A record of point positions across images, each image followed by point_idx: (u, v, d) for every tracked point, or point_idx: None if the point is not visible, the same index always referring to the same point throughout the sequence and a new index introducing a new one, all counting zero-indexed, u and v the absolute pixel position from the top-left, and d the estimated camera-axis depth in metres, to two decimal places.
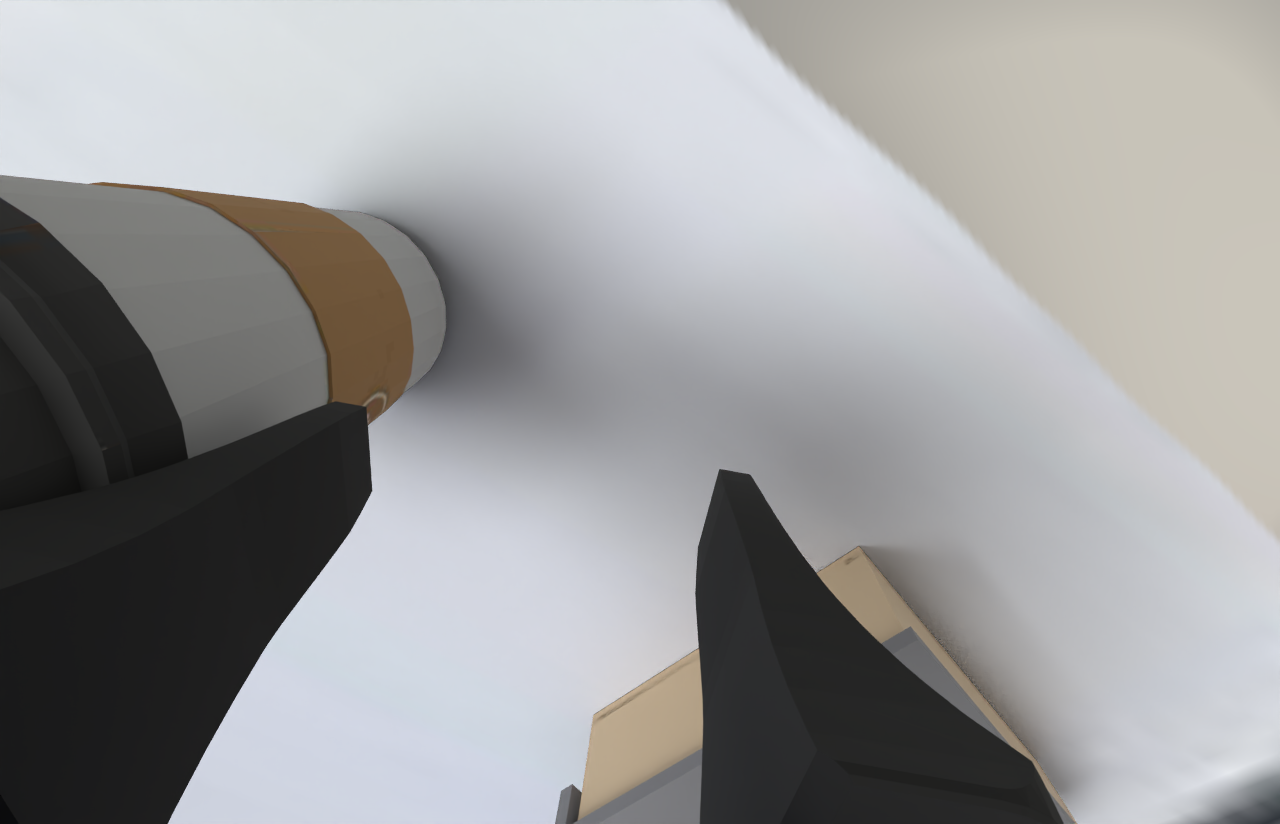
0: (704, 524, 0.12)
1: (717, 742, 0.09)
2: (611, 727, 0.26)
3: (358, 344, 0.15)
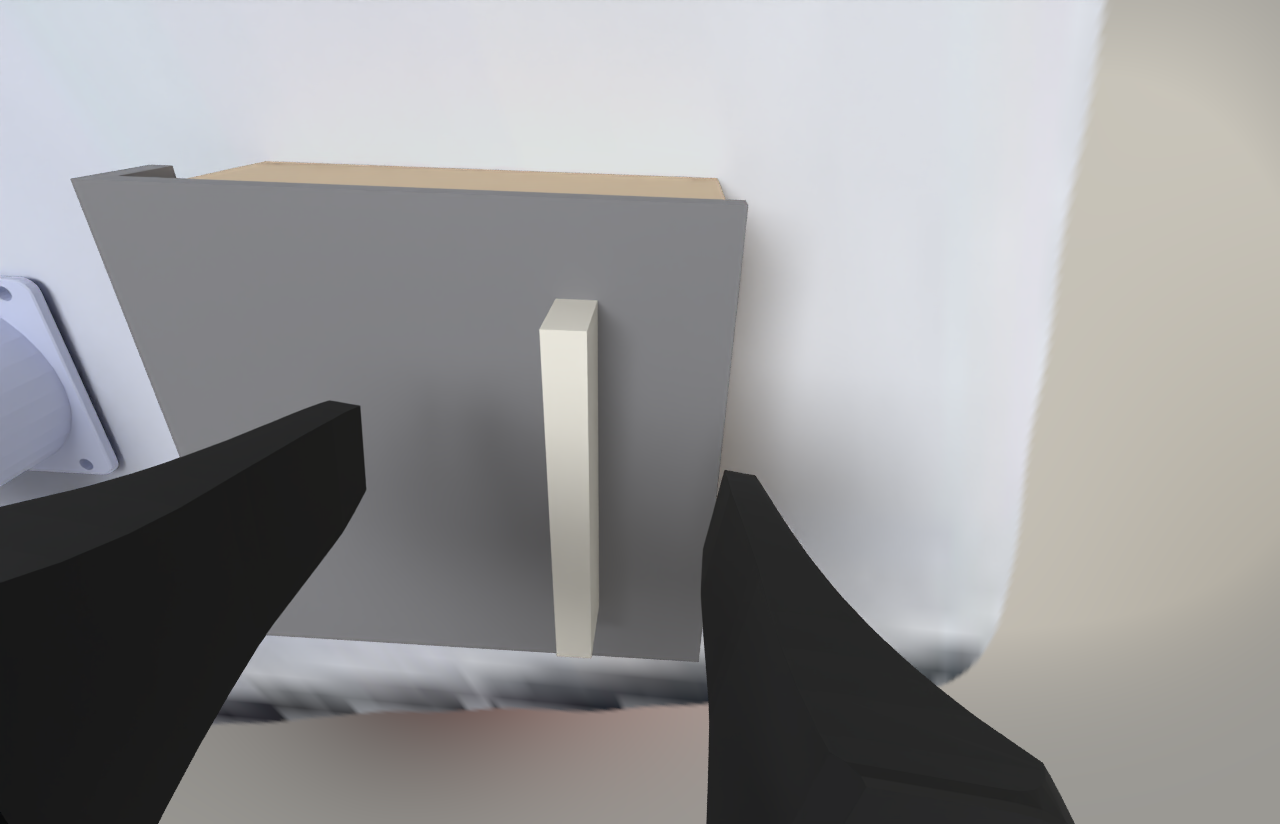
0: (709, 525, 0.12)
1: (724, 743, 0.09)
2: (279, 169, 0.18)
3: None
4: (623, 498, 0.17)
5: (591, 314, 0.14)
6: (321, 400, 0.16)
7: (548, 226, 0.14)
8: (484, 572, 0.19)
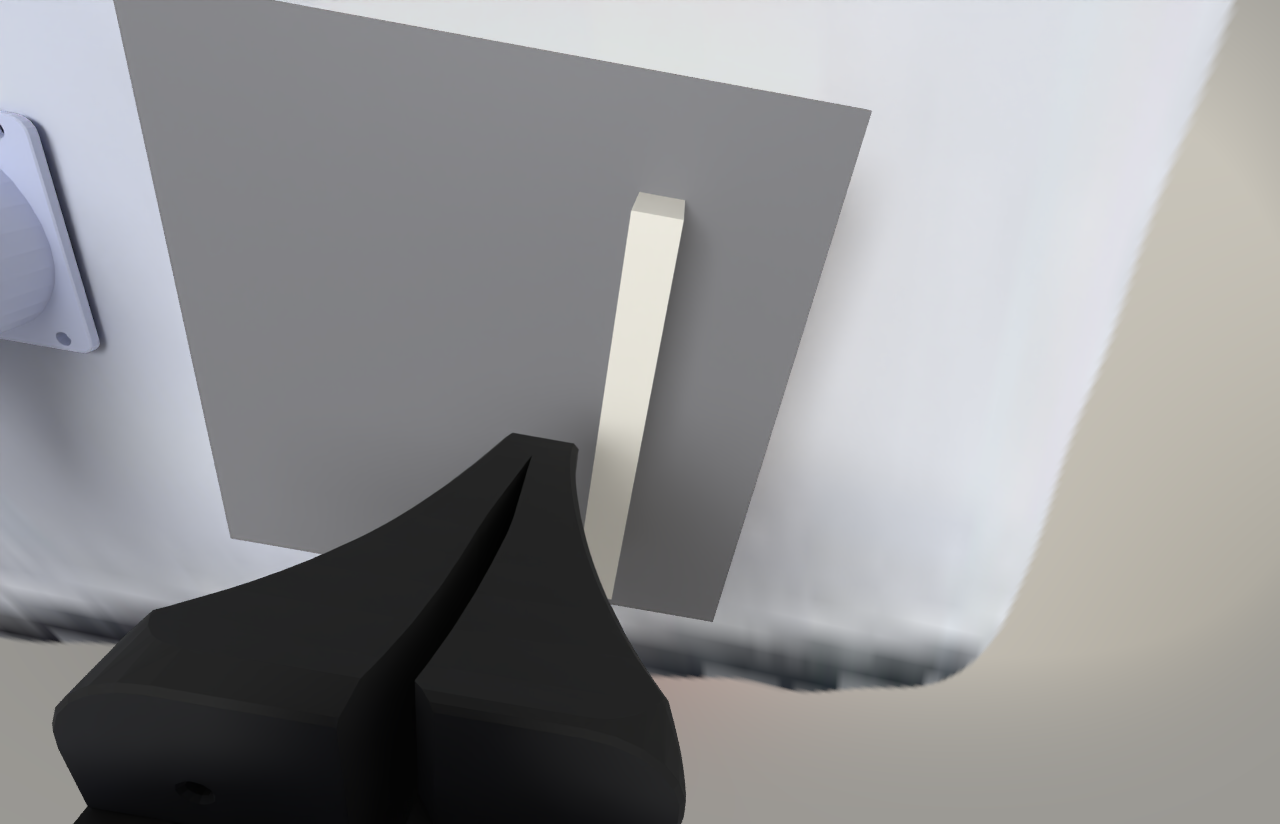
0: None
1: None
2: None
3: None
4: (669, 431, 0.16)
5: (683, 209, 0.12)
6: (356, 278, 0.15)
7: (647, 105, 0.12)
8: None
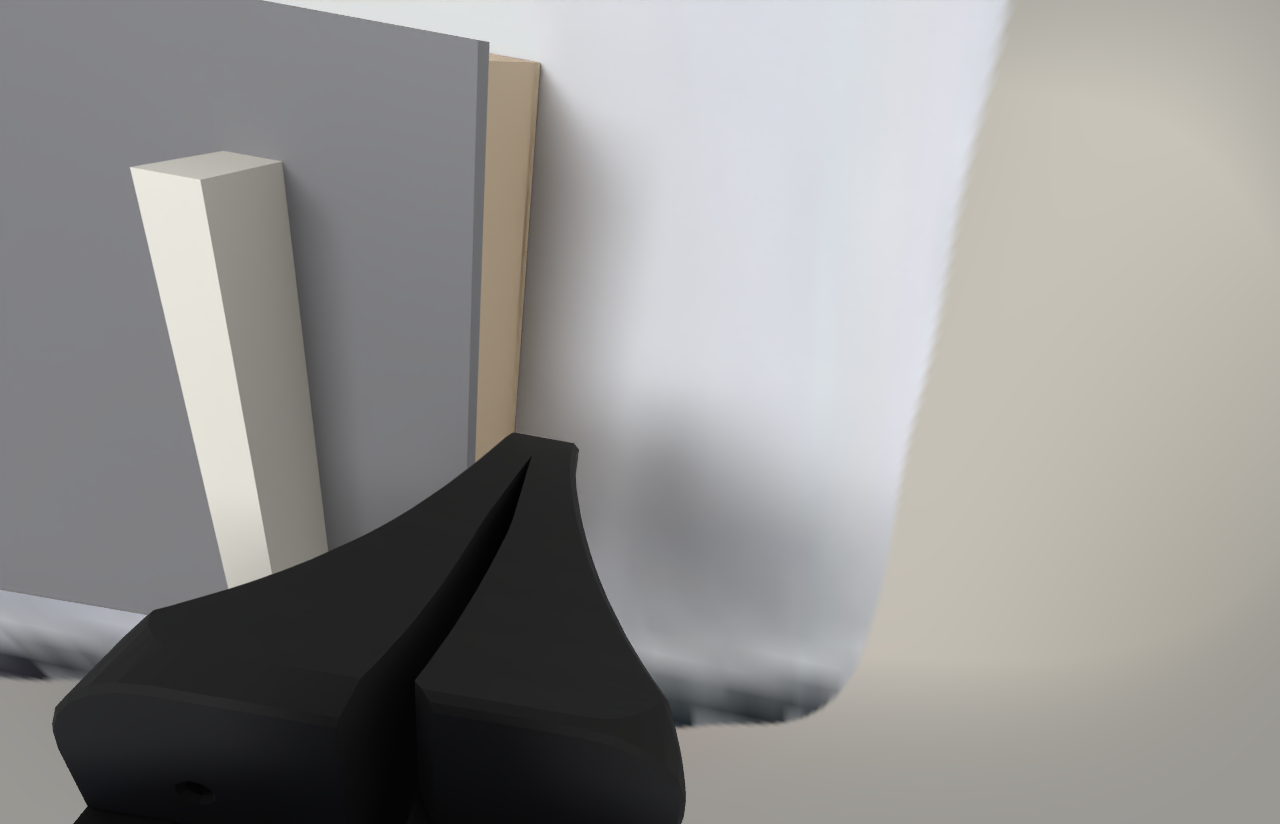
0: None
1: None
2: None
3: None
4: (347, 449, 0.13)
5: (244, 169, 0.10)
6: None
7: (199, 35, 0.10)
8: (181, 526, 0.15)
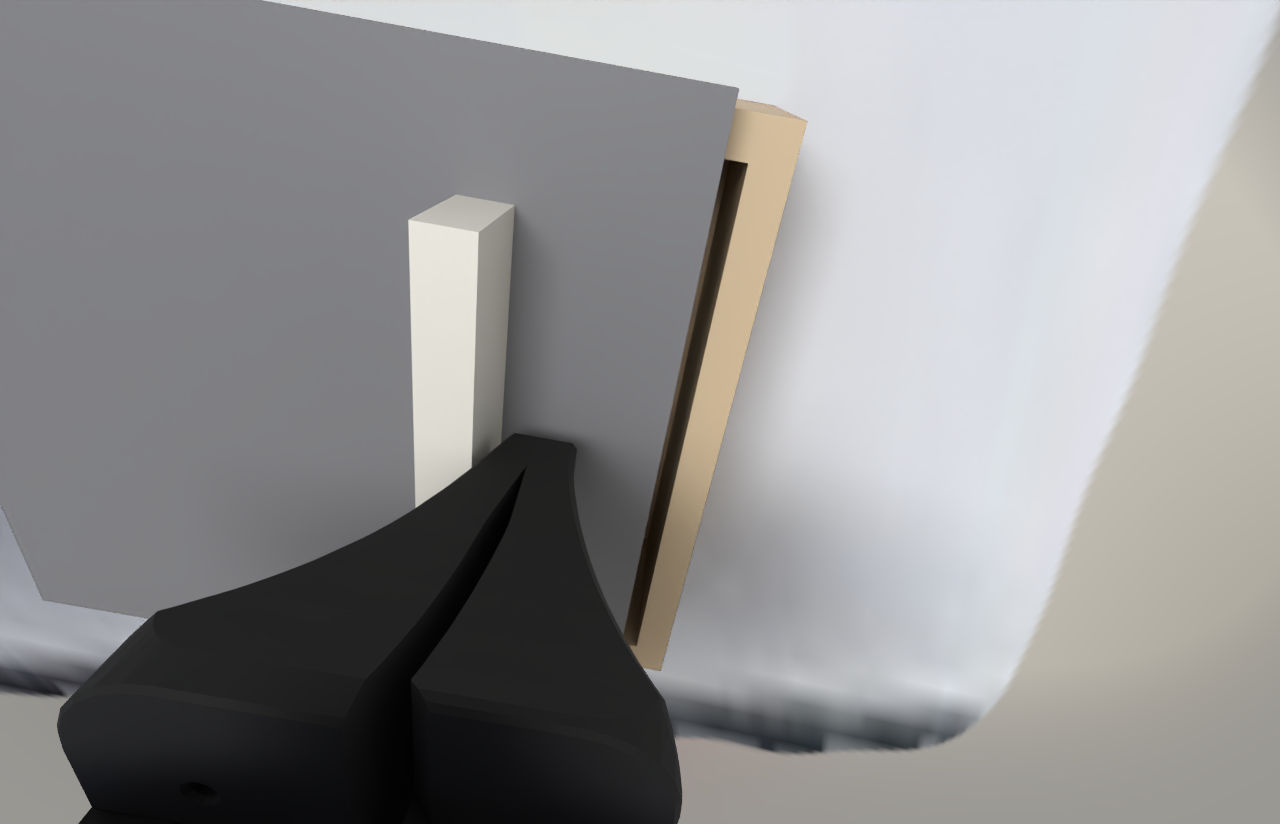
0: None
1: None
2: None
3: None
4: None
5: (497, 216, 0.10)
6: (128, 301, 0.12)
7: (451, 82, 0.10)
8: None
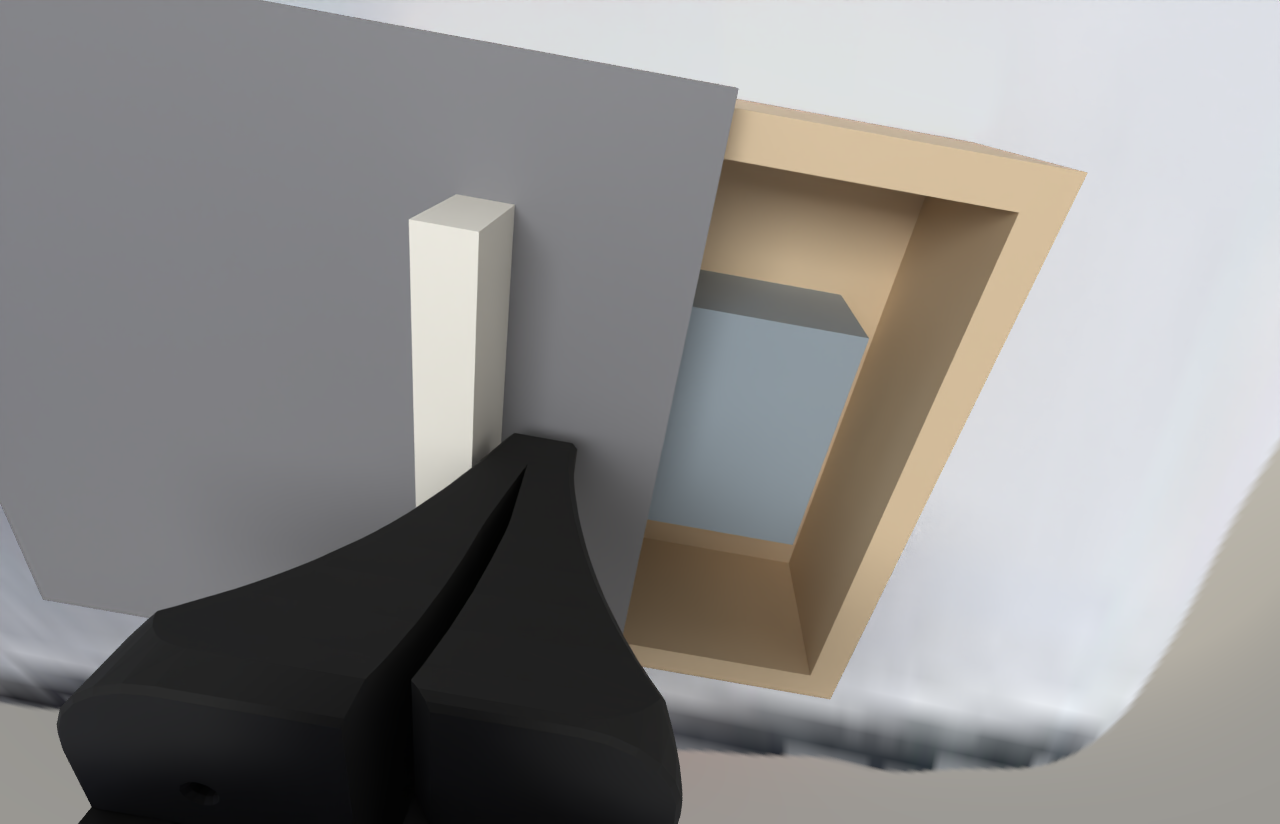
0: None
1: None
2: None
3: None
4: None
5: (497, 216, 0.10)
6: (128, 300, 0.12)
7: (451, 82, 0.10)
8: None
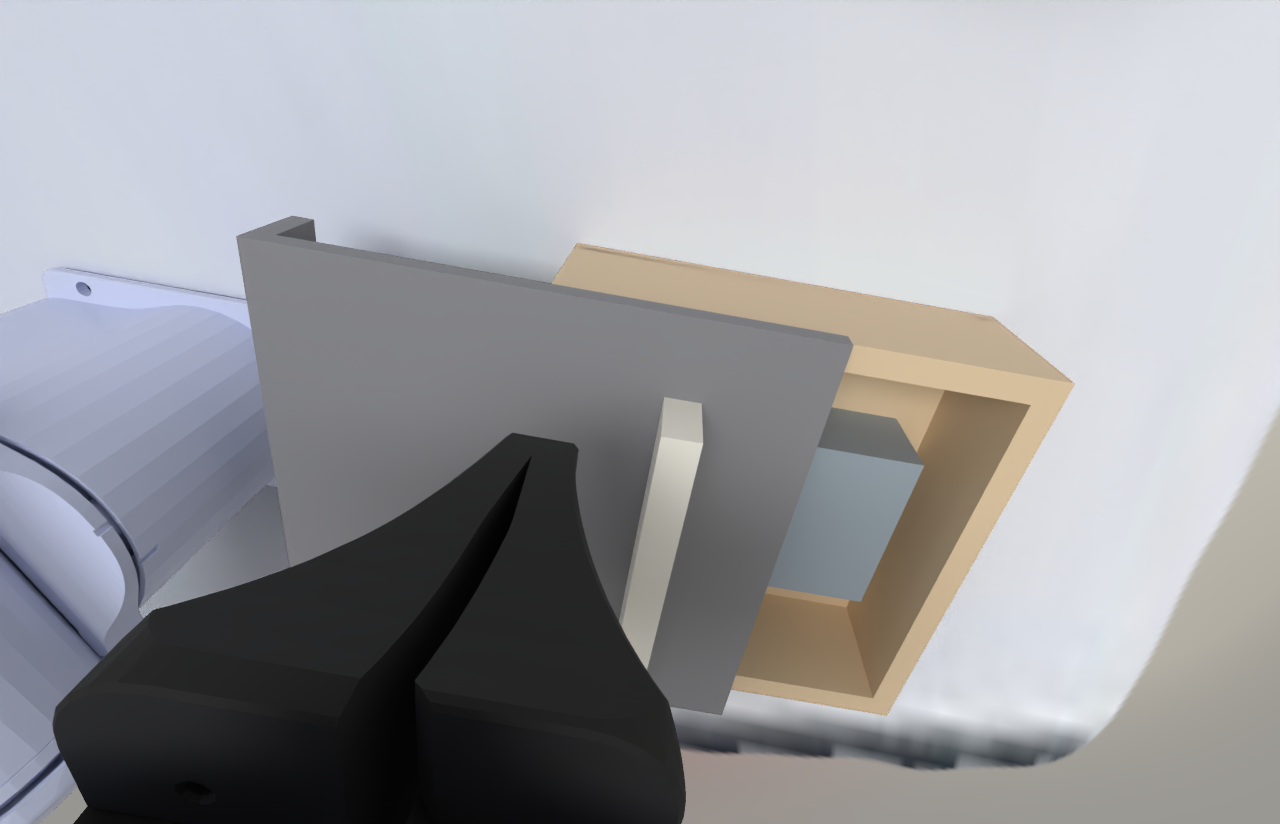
0: None
1: None
2: (609, 261, 0.19)
3: None
4: (685, 569, 0.19)
5: (701, 421, 0.15)
6: (426, 453, 0.18)
7: (672, 337, 0.15)
8: None
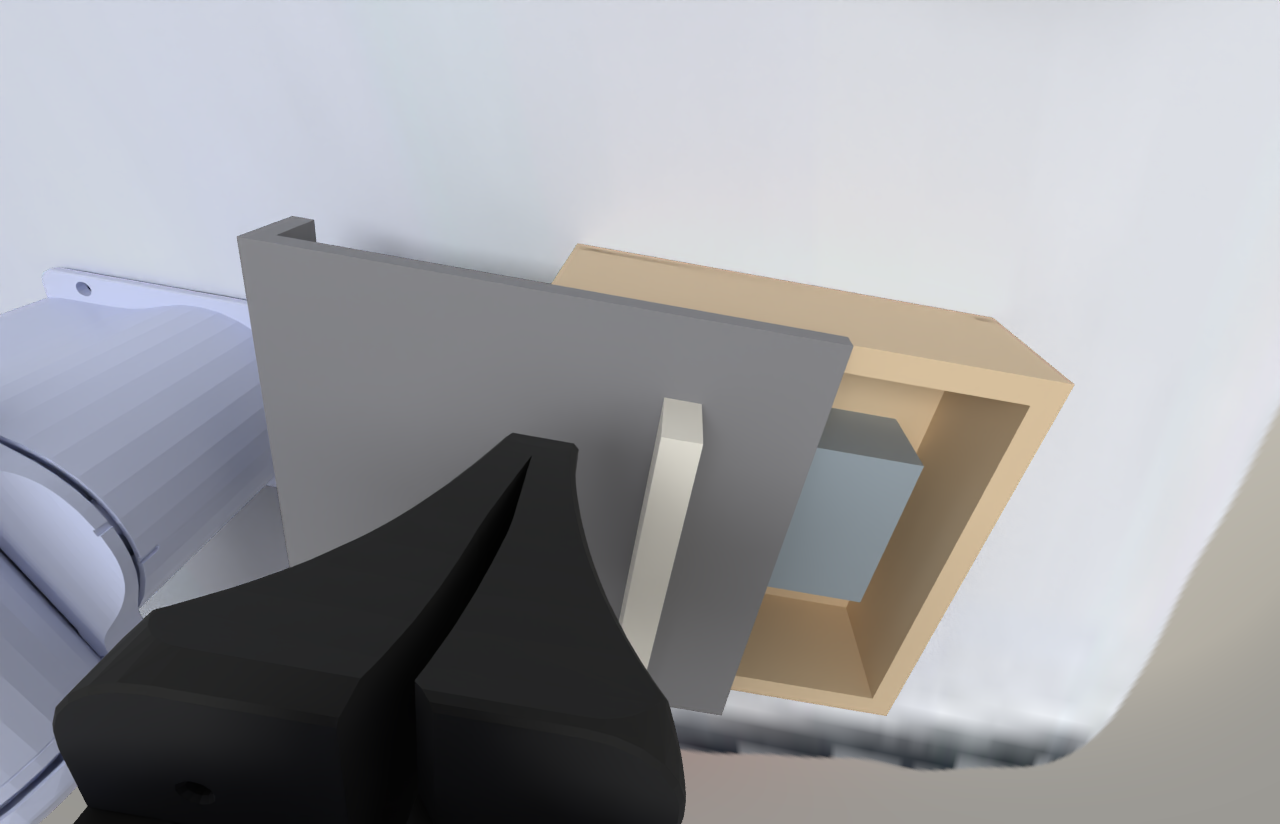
0: None
1: None
2: (610, 261, 0.19)
3: None
4: (685, 569, 0.19)
5: (701, 422, 0.15)
6: (426, 453, 0.18)
7: (672, 338, 0.15)
8: None
